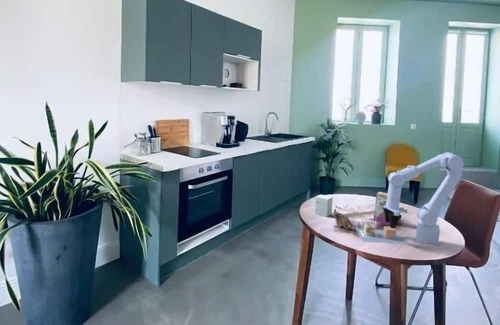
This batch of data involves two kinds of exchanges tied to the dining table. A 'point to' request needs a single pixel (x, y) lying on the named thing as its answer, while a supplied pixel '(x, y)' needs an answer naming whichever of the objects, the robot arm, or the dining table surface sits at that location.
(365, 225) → the birch block
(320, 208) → the small box
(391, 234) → the terracotta block
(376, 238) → the board
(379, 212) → the candy bar box
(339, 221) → the dinosaur figurine
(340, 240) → the dining table surface
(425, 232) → the robot arm
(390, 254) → the dining table surface
